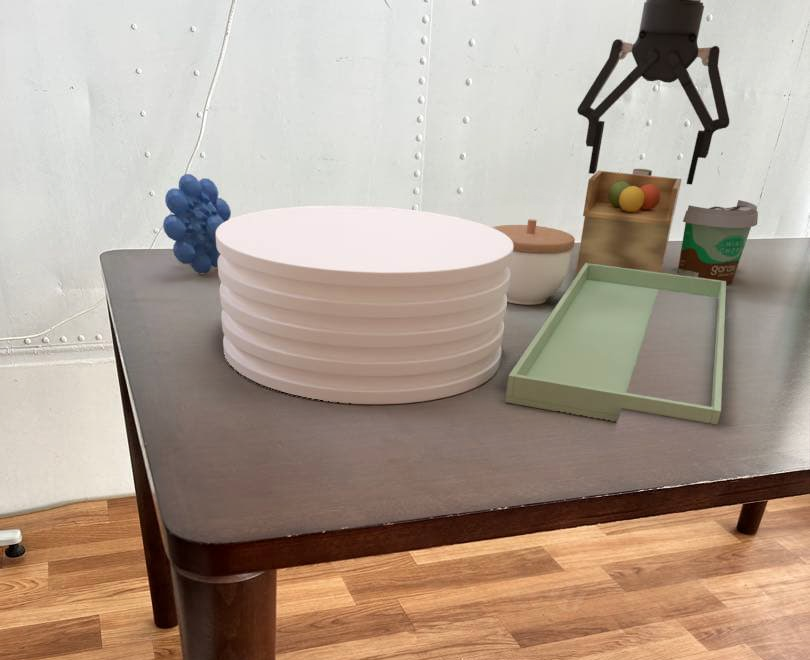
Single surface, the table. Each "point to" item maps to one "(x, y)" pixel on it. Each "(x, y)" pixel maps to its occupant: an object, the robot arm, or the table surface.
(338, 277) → the plate stack
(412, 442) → the table surface
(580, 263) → the riser
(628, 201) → the ball mustard
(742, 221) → the food container
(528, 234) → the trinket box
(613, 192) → the ball olive
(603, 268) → the tray
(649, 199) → the ball terracotta
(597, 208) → the scoop
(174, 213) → the grapes
